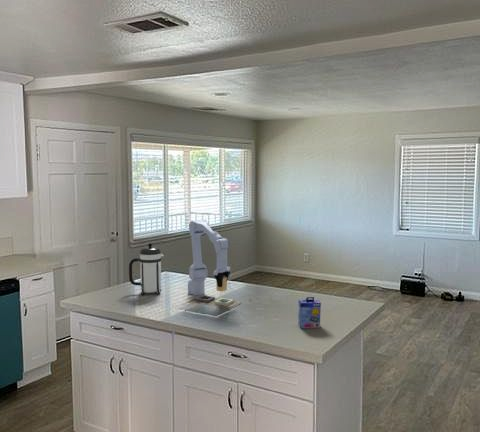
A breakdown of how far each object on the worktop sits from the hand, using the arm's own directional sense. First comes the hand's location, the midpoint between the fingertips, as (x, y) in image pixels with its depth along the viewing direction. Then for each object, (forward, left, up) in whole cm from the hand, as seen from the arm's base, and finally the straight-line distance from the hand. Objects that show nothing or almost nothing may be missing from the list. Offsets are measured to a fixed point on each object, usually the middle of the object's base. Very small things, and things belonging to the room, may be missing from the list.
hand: (222, 285), depth 260 cm
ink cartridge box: (+54, -11, -11) cm, 56 cm away
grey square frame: (-11, 0, -11) cm, 15 cm away
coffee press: (-51, 0, -11) cm, 52 cm away
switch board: (-5, 0, -11) cm, 12 cm away
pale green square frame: (+1, 0, -11) cm, 11 cm away
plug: (0, 0, -3) cm, 3 cm away
